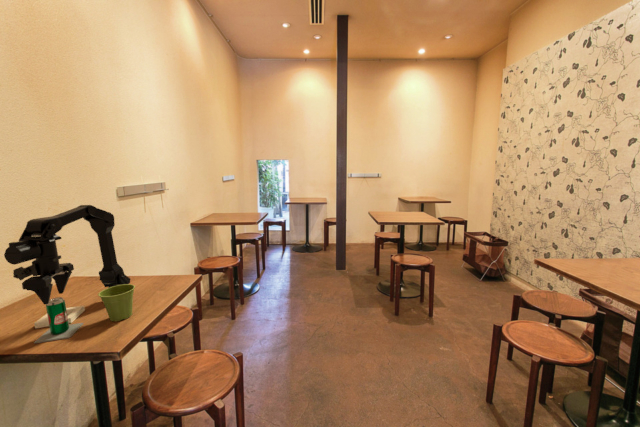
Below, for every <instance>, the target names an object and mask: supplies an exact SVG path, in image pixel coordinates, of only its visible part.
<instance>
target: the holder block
mask: <svg viewBox="0 0 640 427" xmlns="http://www.w3.org/2000/svg"><path fill="white" fill-rule="evenodd" d="M66 311H67V317H68V323H69V324H73V322H74V321H75V320H77V319H78V317H79V316H81V315H82V314H83V313H84V312H85V311H86V308H85V305H79V306H78V305H77V306H71V307H66ZM46 327H48V328H49V321H48V315H47V313H45V315H43V316H42V317H40V318H39V319H38V320H36V321H35V322H34V328H35V329H40V328H46Z"/></svg>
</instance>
